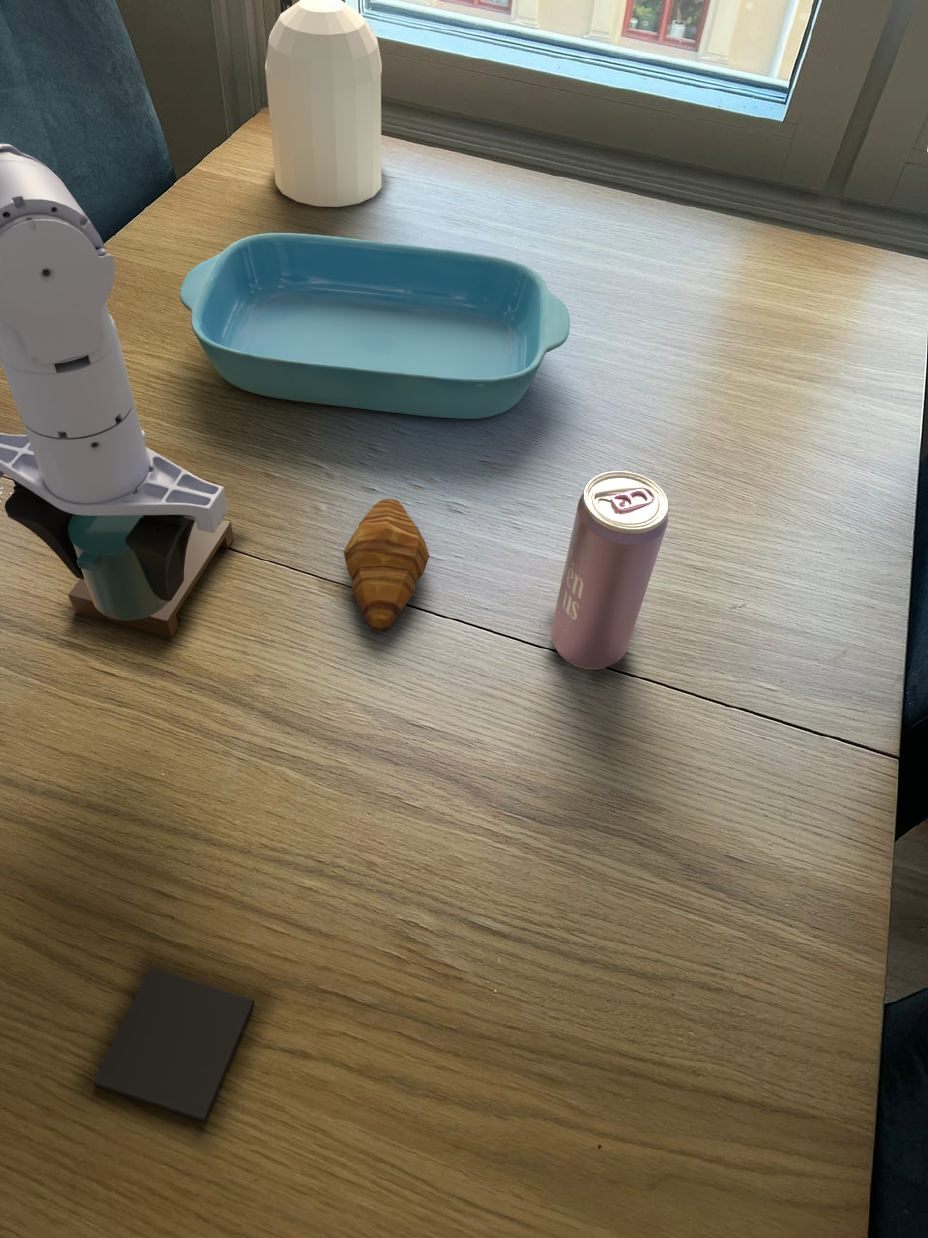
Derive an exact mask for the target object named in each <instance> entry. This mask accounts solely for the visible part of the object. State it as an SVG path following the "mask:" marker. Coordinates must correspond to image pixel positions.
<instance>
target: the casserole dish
mask: <svg viewBox="0 0 928 1238" xmlns="http://www.w3.org/2000/svg"><path fill="white" fill-rule="evenodd" d="M547 285H548V284H547V283H546V281H545V279H544V278H543V277H542V276H541V275H540V274H539V273H538V272H537V271H536V270H534V269H533V268H532V267H529V266H527V265H525V264H523V263H520V262H518V261H515V260H513V259H512V260H511V259H508V258H504V257H500V256H494V255H489V254H483V253H477V252H469V251H462V250H454V249H447V248H440V247H439V248H438V247H430V246H420V245H412V244H402V243H395V242H387V241H386V242H385V241H377V240H376V241H375V240H369V239H368V240H367V239H359V238H349V237H341V236H330V235H322V234H309V233H295V232H268V233H259V234H254V235H250V236H247V237H243V238H241V239H238V240H236V241H234V242H232V243H231V244H229V246H228V247H226V248H224V250H223V251H221V252H220V253H218V254H217V255H214V256H212V257H210V258H208V259H206V260H203V261H202V262H200V263H198V264H197V265H195V266H194V267H193V268H192V269H191V270H189V272H188V273H186V276H185V278H184V280H183V281H182V283H181V286H180V289H179V299H180V302H181V304H182V305H183V306H184V307H185V308H186V309H187V310H188V311H190V313H191V315H190V325H191V328H192V332H193V335H195V337H196V339H197V341H198V342H199V345H200V346H201V348H202V350H203V352H204V354H205V355H206V356H207V358H208V360H209V362H210V363H211V365H212V366H213V368H214V369H215V370H216V371H217V373H218V374H219V375H220V376H221V377H222V378H223V379H224V380H226V381H227V382H228V383H230V384H231V385H232V386H234V387H237V388H239V389H241V390H244V391H247V392H250V393H253V394H257V395H259V396H265V397H268V398H274V399H280V400H288V401H296V402H301V403H302V402H303V403H311V404H319V405H325V406H326V405H327V406H334V407H335V406H336V407H343V408H351V409H362V410H370V411H376V412H377V411H378V412H385V413H386V412H387V413H395V414H403V415H412V416H421V417H431V418H444V419H445V418H446V419H465V420H474V419H475V420H479V419H480V420H481V419H486V418H491V417H494V416H498V415H500V414H503V413H505V412H507V411H509V410H510V409H511V408H513V407H515V405H516V404H518V403H519V402H520V401H521V400H522V398H523V396H524V395H525V394H526V393H527V390H528V389H529V388H530V385H531V383H532V381H533V379H534V377H535V375H536V374H537V372H538V369H539V368H540V366H541V364H542V362H543V360H544V357H545V356H546V354H547V353H549V352H551V351H554V350H555V349H559V348H560V347H561V346H562V345H564V343H566V341H567V340H568V338H569V334H570V327H571V325H570V323H571V319H570V313H569V309H568V307H567V305H566V304H565V303H564V301H562V300H561V299H560V298H559V297H557V296H556V295H555V294H553V293H552V292H551V291H549V288H548V286H547Z"/></svg>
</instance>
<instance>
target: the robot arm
mask: <svg viewBox="0 0 928 1238" xmlns="http://www.w3.org/2000/svg"><path fill="white" fill-rule="evenodd" d="M115 273H116V265H115V257H114V256H113V254H112V253H111V254H110V253H108V252H107V251H106V247H105V244H104V241H103V240H102V238H101V235H100V234H99V232H98V231H97V229H96V228H95V226H94V225H93V223H92V222H91V221H90V218H89V217H88V216H87V215H86V214H85V212H84V210H83V209H82V208H81V206H80V205H79V203H78V202H77V200H76V199H75V198H74V196H73V195H72V193H71V192H70V191H69V189H68V187H66V185H65V184H64V182H63V181H62V179H60V177H59V176H58V175H57V174H56V173H54V172H53V171H52V170H51V168H49V167H48V166H47V165H46V164H44V163H43V162H42V161H40V160H39V159H37V158H35V157H33V156H31V155H29V154H26V153H23V152H22V151H20V150H19V149H18V148H16V147H15V146H14V145H12V144H9V143H0V366H1V369H2V372H3V374H4V377H5V380H6V383H7V385H8V388H9V390H10V391H9V392H10V394H11V396H12V398H13V401H14V404H15V407H16V409H17V412H18V415H19V419H20V421H21V424H22V426H23V428H24V431H25V432H24V433H25V434H12V433H10V434H9V433H3V432H0V479H1V478H2V477H3V476H4V475H6V476H8V477H9V478H11V479H12V482H13V484H14V486H13V487H12V488H13V493H12V494H11V495H10V496H9V497H8V498H7V500H5V503H4V510H5V513H6V515H7V517H8V518H9V519H11V520H13V521H14V522H17V523H19V524H20V525H22V526H23V527H25V528H26V529H28V531H30V532H32V533H33V534H34V535H36V536H37V537H38V538H39V539H40V540H41V541H43V542H44V543H45V544H46V545H47V546H48V547H49V548H50V550H52V551H53V553H54V554H55V555H56V556H57V557H58V558H59V559H60V560H61V561H62V563H63V564H64V565H65V566H66V568H67V569H68V570H69V571H70V572H71V573H72V574H73V576H74V577H75V578H77V579H78V580H80V579H83V580H85V579H84V576H83V574H82V571H81V568H79V566H78V563H77V557H76V555H75V552H74V549H73V546H72V544H71V541H70V538H69V535H68V525H69V521H70V519H71V517H72V516H73V515H74V514H76V515H83V516H115V515H143V517H141V518H140V519H139V521H138V522H137V523H136V525H135V526H134V527H133V529H132V530H131V532H130V533H129V534H128V536H127V537H126V538H125V542H126V545H127V546H129V547H130V548H131V549H132V550H134V551H135V552H136V554H137V555H138V556H139V557H140V559H141V560H142V562H143V563H144V565H145V567H146V568H147V570H148V573H149V576H150V579H151V582H152V585H153V588H154V591H155V593H156V594H157V596H158V597H159V599H161V600H165V601H168V602H169V601H171V600H172V599H173V597H174V595H175V594H176V592H177V591H178V589H179V588H180V586H181V585H182V583H183V581H184V565H185V556H186V550H187V545H188V541H189V537H190V534H191V531H192V528H193V525H194V523H195V520H196V523H197V528H198V529H199V530H201V531H205V532H209V533H215V531H216V529H217V528H218V526H219V525H220V524H221V522H222V521H223V520H225V517H226V516H227V514H228V512H229V507H228V502H227V496H226V491H225V487H224V486H223V485H219V484H215V483H212V482H210V481H208V480H205V479H203V478H200V477H198V476H196V475H195V474H193V473H191V472H190V471H188V470H186V469H184V468H183V467H181V466H179V465H177V463H174V462H172V461H171V460H169V459H168V458H166V457H164V456H162V455H161V454H159V453H158V452H156V451H154V450H152V449H150V448H149V447H147V446H146V444H147V442H148V440H147V435H146V433H145V431H144V430H143V429H142V427H141V423H140V419H139V416H138V410H137V408H136V407H137V406H136V403H135V398H134V395H133V391H132V387H131V382H130V377H129V374H128V370H127V367H126V366H127V365H126V362H125V358H124V354H123V350H122V348H121V343H120V338H119V333H118V329H117V327H116V326H117V325H116V323H115V320H114V318H113V317H112V315H111V313H110V311H109V306H108V301H107V300H108V299H109V297H110V295H111V292H112V289H113V286H114V283H115V278H116V277H115V275H116V274H115Z"/></svg>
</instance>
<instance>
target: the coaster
mask: <svg viewBox="0 0 928 1238" xmlns="http://www.w3.org/2000/svg"><path fill="white" fill-rule="evenodd" d="M136 993H137V994H136V995H135V997H134V999H133V1001H132V1003H131V1005H130V1007H129V1009H128V1012H127V1013H126V1014H125V1018H124V1019H123V1021H122V1023H121V1026H120V1027H119V1030H118V1031H117V1034H116V1035H115V1037H114V1040H113V1041H112V1044H111V1046H110V1047H109V1050H108V1051H107V1054H106V1055H105V1058H104V1059H103V1062H102V1063H101V1066H100V1067H99V1070H98V1072H97V1074H96V1075H95V1078H94V1080H93V1082H92V1083H93V1084H94V1085H95V1086H97V1087H100V1088H103V1089H107V1090H109V1091H112V1092H115V1093H117V1094H120V1095H124V1096H127V1097H129V1098H132V1099H135V1100H139V1101H142V1102H144V1103H148V1104H150V1105H154V1106H156V1107H159V1108H162V1109H166V1110H168V1111H171V1112H175V1113H177V1114H180V1115H183V1116H186V1117H189V1118H192V1119H195V1120H198V1121H202V1122H206V1121H207V1119H208V1116H209V1114H210V1111H211V1110H212V1109H211V1108H212V1106H213V1105H214V1101H215V1099H216V1097H217V1094H218V1091H219V1090H220V1087H221V1084H222V1083H223V1080H224V1077H225V1075H226V1072H227V1070H228V1068H229V1065H230V1062H231V1060H232V1058H233V1056H234V1053H235V1050H236V1048H237V1046H238V1043H239V1042H240V1040H241V1039H240V1038H241V1037H242V1034H243V1031H244V1030H245V1026H246V1024H247V1021H248V1020H249V1017H250V1014H251V1013H252V1009H253V1006H254V1005H255V1001H254V999H252V998H249V997H246V996H243V995H241V994H240V995H239V994H236V993H233V992H230V991H227V990H225V989H224V990H223V989H220V988H217V987H214V986H212V985H208V984H205V983H202V982H198V981H195V980H192V979H189V978H185V977H183V976H179V975H176V974H173V973H170V972H167V971H164V970H160V969H157V968H154V967H149V968H148V970H147V973H146V975H145V977H144V979H143V980H142V983H141V985H140V987H139V989H138V991H137V992H136Z"/></svg>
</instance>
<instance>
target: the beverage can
mask: <svg viewBox="0 0 928 1238" xmlns="http://www.w3.org/2000/svg"><path fill="white" fill-rule="evenodd" d="M579 497H580V498H579V499H578V502H577V506H576V511H575V517H574V521H573V526H572V530H571V535H570V539H569V544H568V549H567V554H566V560H565V563H564V567H563V571H562V577H561V582H560V587H559V591H558V596H557V600H556V604H555V605H556V606H555V610H554V614H553V619H552V623H551V629H550V638H551V643H552V644H553V647H554V648H555V650H556V652H557V653H558V654H559V655H560V656H561V658H562V659H564V660H565V661H566V662H567V663H569V664H570V665H572V666H575V667H577V668H581V669H584V670H602V669H605V668H608V667H611V666H613V665H614V664H616V663H618V662H620V660H622V659H623V657H624V656H625V655H626V653H627V651H628V649H629V645H630V642H631V639H632V636H633V633H634V630H635V626H636V624H637V621H638V617H639V614H640V612H641V608H642V605H643V602H644V599H645V595H646V592H647V589H648V586H649V583H650V580H651V577H652V574H653V571H654V568H655V564H656V562H657V558H658V555H659V552H660V549H661V546H662V543H663V540H664V536H665V534H666V530H667V527H668V523H669V512H670V511H669V510H670V503H669V499H668V496H667V494H666V493H665V491H664V490H663V489H662V487H660V486H659V485H658V484H657V483H656V482H655V481H653V480H652V479H651V478H649V477H646V476H645V475H641V474H639V473H635V472H631V471H623V470H613V471H608V472H607V471H606V472H603V473H601V474H598V475H596V476H594V477H593V478H592V479H590V480H589V482H587V484H586V485H585V487H584V489H583V493H582V494H581V495H580V496H579Z"/></svg>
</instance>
